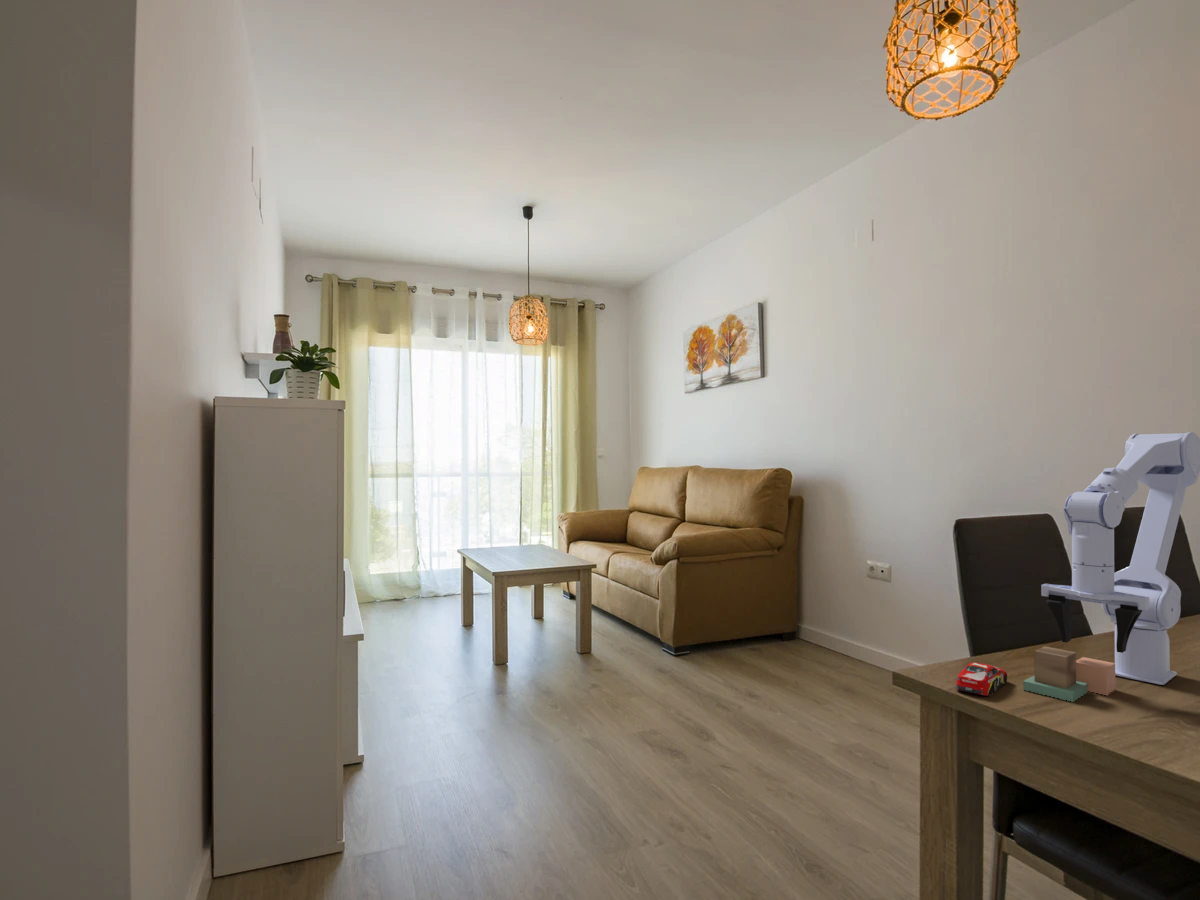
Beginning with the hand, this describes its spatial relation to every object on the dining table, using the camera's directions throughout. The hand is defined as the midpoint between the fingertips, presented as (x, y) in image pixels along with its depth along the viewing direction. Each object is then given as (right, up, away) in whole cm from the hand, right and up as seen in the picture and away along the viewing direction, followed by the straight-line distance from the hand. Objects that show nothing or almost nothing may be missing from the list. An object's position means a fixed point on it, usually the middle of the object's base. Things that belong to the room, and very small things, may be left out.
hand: (1093, 646), depth 113 cm
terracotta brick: (0, -7, 0) cm, 7 cm away
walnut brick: (-7, -6, -1) cm, 9 cm away
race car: (-18, -8, +1) cm, 19 cm away
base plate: (-7, -7, -1) cm, 10 cm away
